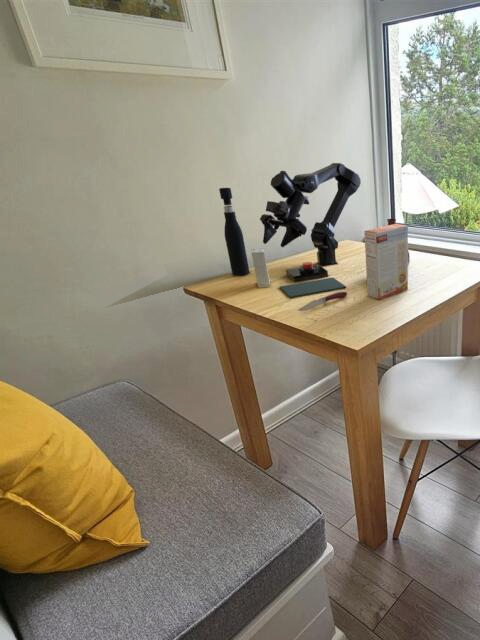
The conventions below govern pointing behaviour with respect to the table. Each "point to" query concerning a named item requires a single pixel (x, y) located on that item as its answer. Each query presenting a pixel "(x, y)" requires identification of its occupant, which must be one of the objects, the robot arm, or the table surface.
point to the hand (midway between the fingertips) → (272, 244)
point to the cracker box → (386, 260)
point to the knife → (324, 300)
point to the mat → (312, 287)
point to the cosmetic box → (260, 267)
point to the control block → (306, 273)
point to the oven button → (308, 265)
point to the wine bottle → (234, 237)
